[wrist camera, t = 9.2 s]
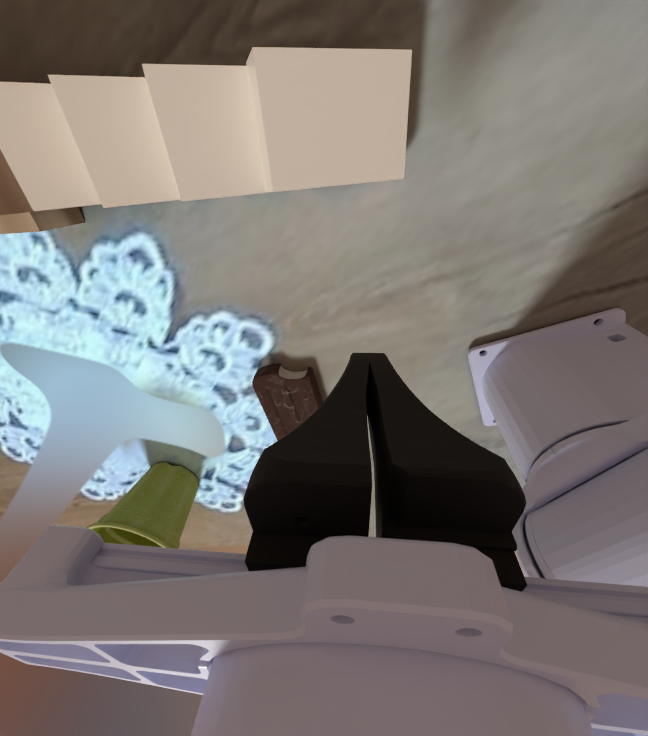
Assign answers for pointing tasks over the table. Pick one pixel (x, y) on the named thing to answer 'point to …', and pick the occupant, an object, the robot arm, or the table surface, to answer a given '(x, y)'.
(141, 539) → the plant pot
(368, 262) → the table surface
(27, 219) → the end block
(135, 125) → the domino
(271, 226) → the table surface
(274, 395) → the ice cream bar
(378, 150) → the domino
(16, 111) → the domino
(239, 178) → the domino
